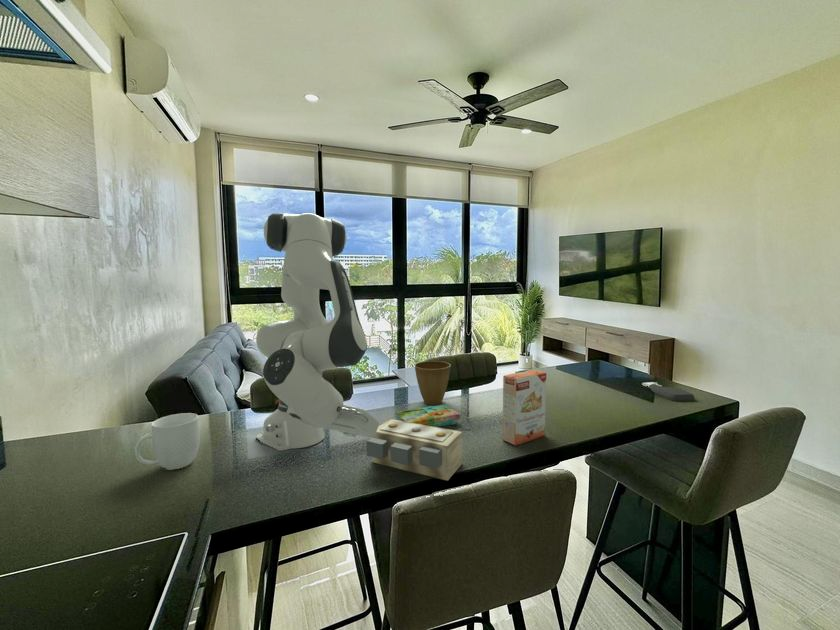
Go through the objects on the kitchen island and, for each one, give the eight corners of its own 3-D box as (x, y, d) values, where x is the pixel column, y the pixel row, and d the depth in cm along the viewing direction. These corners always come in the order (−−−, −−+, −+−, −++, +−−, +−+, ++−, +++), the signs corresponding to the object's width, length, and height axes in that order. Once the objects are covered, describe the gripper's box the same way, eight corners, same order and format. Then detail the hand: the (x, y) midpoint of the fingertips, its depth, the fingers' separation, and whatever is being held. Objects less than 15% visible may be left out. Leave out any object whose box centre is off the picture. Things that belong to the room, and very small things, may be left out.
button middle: (390, 461, 97) (390, 446, 97) (395, 457, 99) (395, 442, 99) (407, 465, 95) (407, 449, 95) (412, 461, 97) (412, 446, 97)
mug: (137, 484, 96) (132, 434, 95) (136, 467, 104) (133, 421, 103) (204, 466, 105) (201, 420, 104) (198, 452, 113) (195, 410, 112)
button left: (366, 455, 101) (366, 441, 100) (372, 451, 103) (371, 437, 103) (382, 459, 98) (382, 444, 98) (387, 455, 101) (387, 440, 100)
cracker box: (516, 447, 113) (516, 378, 112) (501, 440, 118) (501, 374, 117) (546, 436, 121) (547, 372, 119) (531, 430, 126) (532, 368, 124)
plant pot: (407, 402, 158) (407, 364, 157) (433, 394, 168) (432, 359, 167) (432, 410, 147) (432, 370, 146) (458, 402, 157) (458, 364, 156)
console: (372, 462, 105) (371, 429, 105) (391, 447, 114) (390, 417, 114) (447, 480, 95) (447, 444, 94) (462, 463, 104) (461, 430, 103)
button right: (419, 464, 95) (419, 449, 95) (424, 460, 97) (423, 445, 97) (437, 468, 93) (437, 453, 92) (441, 464, 95) (441, 449, 95)
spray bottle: (671, 402, 154) (636, 386, 178) (697, 401, 154) (659, 386, 178) (671, 395, 154) (636, 380, 178) (697, 394, 154) (659, 380, 178)
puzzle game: (460, 412, 132) (406, 420, 125) (460, 425, 133) (406, 434, 125) (446, 402, 143) (395, 409, 136) (446, 414, 143) (396, 422, 136)
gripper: (367, 398, 78) (393, 428, 87) (294, 387, 88) (325, 415, 97) (354, 426, 75) (383, 454, 84) (280, 412, 84) (313, 438, 93)
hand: (351, 433), depth 91 cm, fingers closed
